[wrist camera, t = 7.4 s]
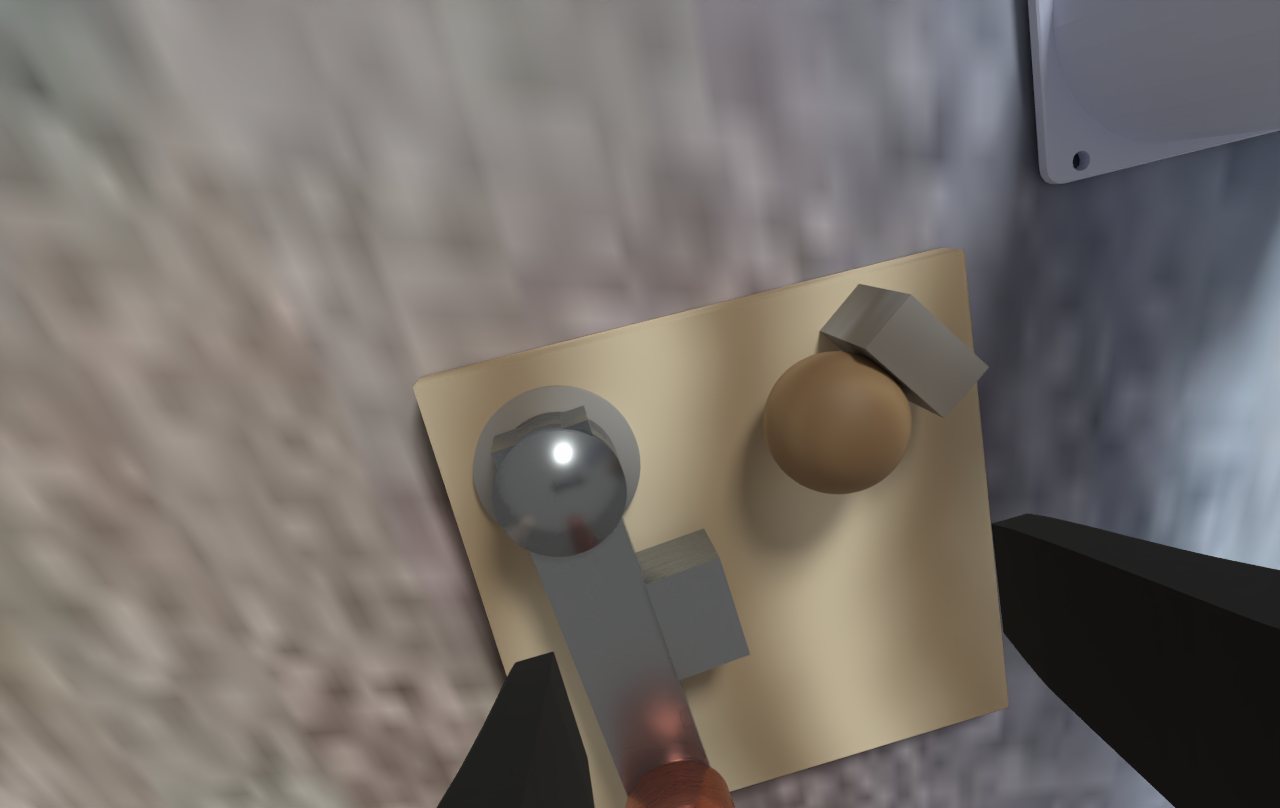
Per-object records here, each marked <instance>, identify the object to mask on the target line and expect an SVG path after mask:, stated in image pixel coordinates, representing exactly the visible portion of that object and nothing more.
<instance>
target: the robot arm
mask: <svg viewBox="0 0 1280 808" xmlns="http://www.w3.org/2000/svg"><path fill="white" fill-rule="evenodd" d="M1028 9H1029V24H1030V39H1031V53H1032V68H1033V83H1034V98H1035V113H1036V127H1037V142H1038V157H1039V170H1040V174H1041V177H1042V178H1043V179H1044V181H1045V182H1047V183H1049V184H1064V183H1068V182H1072V181H1076V180H1081V179H1085V178H1089V177H1093V176H1097V175H1101V174H1105V173H1109V172H1113V171H1117V170H1121V169H1125V168H1129V167H1133V166H1138V165H1142V164H1146V163H1150V162H1154V161H1158V160H1162V159H1166V158H1170V157H1174V156H1178V155H1182V154H1186V153H1190V152H1195V151H1199V150H1203V149H1207V148H1211V147H1215V146H1219V145H1223V144H1227V143H1231V142H1235V141H1239V140H1243V139H1247V138H1252V137H1256V136H1260V135H1264V134H1268V133H1272V132H1276V131H1280V0H1028ZM1076 153H1077V154H1078V155H1079V158H1080V162H1079V166H1078V167H1077V168H1076V169H1075V168H1074V167H1073V163H1072V162H1073V157H1074V156H1075V154H1076ZM992 532H993V541H994V550H995V559H996V568H997V577H998V587H999V596H1000V605H1001V614H1002V623H1003V632H1004V634H1005V635H1006V636H1007V638H1008V639H1009V640H1010V641H1011V643H1012V644H1013V645H1014V646H1015V648H1016V649H1017V650H1018V652H1019V653H1020V654H1021V655H1022V657H1023V658H1024V659H1025V660H1026V662H1027V663H1028V664H1029V665H1030V666H1031V668H1032V669H1033V670H1034V671H1035V672H1036V673H1037V675H1038V676H1039V677H1040V678H1041V679H1042V681H1043V682H1044V683H1045V684H1046V685H1047V686H1048V687H1049V688H1050V689H1051V690H1052V691H1053V692H1054V693H1055V694H1056V695H1057V696H1058V697H1059V698H1060V699H1061V700H1062V701H1063V702H1064V703H1065V704H1066V705H1067V706H1068V707H1069V708H1070V709H1071V710H1072V711H1074V712H1075V713H1076V714H1077V715H1078V716H1079V717H1080V718H1081V719H1082V720H1083V721H1084V722H1085V723H1086V724H1087V725H1088V726H1089V727H1090V728H1091V729H1092V730H1093V731H1094V732H1096V733H1097V734H1098V735H1099V736H1100V737H1101V738H1102V739H1103V740H1104V741H1105V742H1106V743H1107V744H1108V745H1109V746H1110V747H1111V748H1113V749H1114V750H1115V751H1116V752H1117V753H1118V754H1119V755H1120V756H1121V757H1122V758H1123V759H1124V760H1125V761H1126V762H1127V763H1128V764H1130V765H1131V766H1132V767H1133V768H1134V769H1135V770H1136V771H1137V772H1138V773H1139V774H1140V775H1141V776H1142V777H1143V778H1144V779H1145V780H1147V781H1148V782H1149V783H1150V784H1151V785H1152V786H1153V787H1154V788H1155V789H1156V790H1157V791H1158V792H1159V793H1160V794H1161V795H1162V796H1164V797H1165V798H1166V799H1167V800H1168V801H1169V802H1170V803H1171V804H1172V805H1173V806H1174V807H1175V808H1280V570H1276V569H1271V568H1266V567H1261V566H1256V565H1251V564H1246V563H1241V562H1237V561H1232V560H1227V559H1222V558H1217V557H1213V556H1208V555H1204V554H1199V553H1195V552H1191V551H1186V550H1182V549H1178V548H1174V547H1169V546H1165V545H1161V544H1157V543H1153V542H1149V541H1145V540H1141V539H1137V538H1133V537H1129V536H1125V535H1121V534H1117V533H1113V532H1109V531H1105V530H1101V529H1097V528H1093V527H1089V526H1085V525H1081V524H1077V523H1072V522H1068V521H1064V520H1059V519H1055V518H1050V517H1045V516H1039V515H1033V514H1024V515H1021V516H1017V517H1014V518H1010V519H1007V520H1004V521H1000V522H997V523H993V524H992ZM437 808H595V806H594V798H593V791H592V784H591V777H590V770H589V763H588V757H587V754H586V751H585V748H584V745H583V742H582V738H581V735H580V732H579V729H578V726H577V723H576V720H575V716H574V713H573V710H572V707H571V704H570V701H569V698H568V695H567V691H566V688H565V685H564V682H563V679H562V676H561V673H560V669H559V666H558V663H557V660H556V657H555V654H554V651H553V652H549V653H546V654H542V655H539V656H535V657H532V658H528V659H525V660H522V661H518V662H515V663H514V665H513V667H512V668H511V670H510V672H509V674H508V676H507V678H506V680H505V682H504V684H503V686H502V688H501V690H500V693H499V695H498V697H497V699H496V701H495V703H494V705H493V707H492V709H491V711H490V713H489V715H488V717H487V719H486V721H485V723H484V725H483V727H482V729H481V731H480V733H479V735H478V736H477V738H476V740H475V742H474V744H473V746H472V748H471V749H470V751H469V753H468V755H467V757H466V759H465V761H464V762H463V764H462V766H461V768H460V770H459V771H458V773H457V775H456V777H455V778H454V780H453V782H452V783H451V785H450V787H449V788H448V790H447V792H446V793H445V795H444V796H443V798H442V800H441V801H440V803H439V805H438V806H437Z"/></svg>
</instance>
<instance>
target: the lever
mask: <svg viewBox="0 0 1280 808" xmlns="http://www.w3.org/2000/svg"><path fill="white" fill-rule="evenodd" d="M491 455H492V458H493V460H494V463H495V465H496V471H495V477H494V484H493V492H492V500H493V507H494V512H495V515H496V518H497V520H498V522H499V524H500V526H501V527H502V529H503V530H504V532H505V533H506V534H507V535H508V536H509V537H510V538H511V539H512V540H513V541H514V542H515V543H517V544H518V545H520V546H521V547H523V548H524V549H526V550H528V551H530V553H531V556H532V558H533V561H534V563H535V566H536V568H537V571H538V573H539V576H540V578H541V581H542V583H543V586H544V588H545V591H546V593H547V596H548V598H549V601H550V603H551V606H552V608H553V611H554V613H555V616H556V618H557V621H558V623H559V626H560V628H561V631H562V633H563V636H564V638H565V641H566V643H567V646H568V648H569V651H570V653H571V656H572V658H573V661H574V663H575V666H576V668H577V671H578V673H579V676H580V678H581V681H582V683H583V686H584V688H585V691H586V693H587V696H588V699H589V701H590V704H591V706H592V709H593V711H594V714H595V716H596V719H597V721H598V724H599V726H600V729H601V731H602V734H603V736H604V739H605V741H606V744H607V746H608V749H609V751H610V754H611V756H612V759H613V761H614V764H615V766H616V769H617V771H618V774H619V776H620V779H621V781H622V784H623V786H624V789H625V791H626V794H627V796H628V798H627V801H626V805H625V808H735V806H734V803H733V800H732V797H731V794H730V791H729V788H728V786H727V783H726V781H725V780H724V778H723V777H722V776H721V775H720V774H719V773H718V772H717V771H716V770H715V769H713V768H712V767H711V766H710V763H709V760H708V757H707V754H706V752H705V749H704V746H703V743H702V740H701V737H700V734H699V732H698V729H697V726H696V723H695V720H694V717H693V715H692V712H691V709H690V706H689V703H688V700H687V697H686V695H685V692H684V689H683V686H682V683H681V680H682V679H685V678H688V677H690V676H693V675H696V674H699V673H701V672H704V671H707V670H709V669H712V668H715V667H718V666H720V665H723V664H726V663H729V662H731V661H734V660H737V659H739V658H742V657H745V656H748V655H750V652H749V649H748V646H747V642H746V639H745V636H744V633H743V630H742V626H741V623H740V620H739V617H738V614H737V611H736V607H735V604H734V601H733V598H732V595H731V591H730V588H729V585H728V582H727V579H726V576H725V572H724V569H723V566H722V563H721V560H720V557H719V555H718V553H717V551H716V550H715V548H714V546H713V544H712V542H711V540H710V538H709V537H708V535H707V533H706V531H705V529H704V528H703V529H701V530H698V531H695V532H692V533H689V534H687V535H684V536H681V537H678V538H675V539H673V540H670V541H667V542H664V543H661V544H658V545H656V546H653V547H650V548H647V549H644V550H642V551H639V552H635V550H634V547H633V544H632V541H631V538H630V535H629V532H628V530H627V527H626V524H625V521H624V518H623V512H624V509H625V506H626V499H627V486H626V480H625V476H624V472H623V470H622V467H621V464H620V461H619V458H618V455H617V452H616V449H615V447H614V445H613V443H612V441H611V439H610V438H609V436H608V435H607V434H606V432H605V431H604V430H603V429H602V428H601V427H600V426H599V425H597V424H596V423H594V422H593V421H591V420H590V419H588V416H587V413H586V410H585V407H584V405H583V406H580V407H577V408H574V409H571V410H569V411H566V412H548V413H543V414H539V415H536V416H534V417H532V418H529V419H528V420H526V421H524V422H523V423H521V424H520V425H519V426H517V427H516V428H515V429H513V430H510V431H507V432H504V433H501V434H499V435H496V436H494V439H493V444H492V449H491Z"/></svg>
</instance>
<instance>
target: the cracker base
mask: <svg viewBox="0 0 1280 808" xmlns="http://www.w3.org/2000/svg"><path fill="white" fill-rule="evenodd" d="M988 368H989V366H988V365H986V364H985V363H984V362H983V361H982V360H981V359H980V358H979V357H978V356H977V355H976V354H975V353H974V347H973V337H972V327H971V317H970V306H969V296H968V286H967V276H966V266H965V256H964V250H962V249H949V248H937V249H933V250H929V251H925V252H921V253H917V254H913V255H909V256H905V257H901V258H897V259H893V260H889V261H885V262H881V263H877V264H873V265H869V266H865V267H861V268H857V269H853V270H849V271H845V272H841V273H837V274H833V275H829V276H825V277H821V278H817V279H813V280H809V281H805V282H801V283H797V284H793V285H789V286H785V287H781V288H777V289H773V290H769V291H765V292H761V293H757V294H753V295H749V296H745V297H741V298H737V299H733V300H729V301H725V302H721V303H717V304H713V305H709V306H705V307H701V308H697V309H693V310H689V311H685V312H681V313H677V314H673V315H669V316H665V317H661V318H657V319H653V320H649V321H645V322H641V323H637V324H633V325H629V326H625V327H621V328H617V329H613V330H609V331H605V332H601V333H597V334H593V335H589V336H585V337H581V338H577V339H573V340H569V341H565V342H561V343H557V344H553V345H549V346H545V347H541V348H537V349H533V350H529V351H525V352H520V353H516V354H512V355H508V356H504V357H500V358H496V359H492V360H488V361H484V362H480V363H476V364H472V365H468V366H464V367H460V368H456V369H452V370H448V371H444V372H440V373H436V374H432V375H428V376H424V377H420V378H419V380H418V381H417V383H416V384H415V385H414V387H413V389H414V392H415V395H416V399H417V402H418V405H419V408H420V411H421V414H422V417H423V420H424V423H425V426H426V429H427V432H428V435H429V439H430V442H431V445H432V448H433V451H434V454H435V457H436V460H437V463H438V466H439V469H440V472H441V475H442V478H443V482H444V485H445V488H446V491H447V494H448V497H449V500H450V503H451V506H452V509H453V512H454V515H455V518H456V522H457V525H458V528H459V531H460V534H461V537H462V540H463V543H464V546H465V549H466V552H467V555H468V558H469V561H470V565H471V568H472V571H473V574H474V577H475V580H476V583H477V586H478V589H479V592H480V595H481V598H482V601H483V605H484V608H485V611H486V614H487V617H488V620H489V623H490V626H491V629H492V632H493V635H494V638H495V641H496V644H497V648H498V651H499V654H500V657H501V660H502V663H503V666H504V669H505V672H506V675H507V676H508V674H509V672H510V670H511V668H512V667H513V665H514V663H515V662H518V661H522V660H525V659H528V658H532V657H535V656H539V655H542V654H546V653H549V652H553V651H554V654H555V657H556V660H557V663H558V666H559V669H560V673H561V676H562V679H563V682H564V685H565V688H566V691H567V695H568V698H569V701H570V704H571V707H572V710H573V713H574V716H575V720H576V723H577V726H578V729H579V732H580V735H581V738H582V742H583V745H584V748H585V751H586V754H587V757H588V763H589V770H590V777H591V784H592V791H593V798H594V806H595V808H625V805H626V801H627V798H628V796H627V794H626V791H625V789H624V786H623V784H622V781H621V779H620V776H619V774H618V771H617V769H616V766H615V764H614V761H613V759H612V756H611V754H610V751H609V749H608V746H607V744H606V741H605V739H604V736H603V734H602V731H601V729H600V726H599V724H598V721H597V719H596V716H595V714H594V711H593V709H592V706H591V704H590V701H589V699H588V696H587V693H586V691H585V688H584V686H583V683H582V681H581V678H580V676H579V673H578V671H577V668H576V666H575V663H574V661H573V658H572V656H571V653H570V651H569V648H568V646H567V643H566V641H565V638H564V636H563V633H562V631H561V628H560V626H559V623H558V621H557V618H556V616H555V613H554V611H553V608H552V606H551V603H550V601H549V598H548V596H547V593H546V591H545V588H544V586H543V583H542V581H541V578H540V576H539V573H538V571H537V568H536V566H535V563H534V561H533V558H532V556H531V553H530V551H528V550H526V549H524V548H523V547H521V546H520V545H518V544H517V543H515V542H514V541H513V540H512V539H511V538H510V537H509V536H508V535H507V534H506V533H505V532H504V530H503V529H502V527H501V526H500V524H499V522H498V520H497V518H496V515H495V512H494V507H493V500H492V492H493V484H494V477H495V471H496V465H495V463H494V460H493V458H492V455H491V449H492V444H493V439H494V436H496V435H499V434H501V433H504V432H507V431H510V430H513V429H515V428H516V427H517V426H519V425H520V424H521V423H523V422H524V421H526V420H528V419H529V418H532V417H534V416H536V415H539V414H543V413H548V412H566V411H569V410H571V409H574V408H577V407H580V406H583V405H584V407H585V410H586V413H587V416H588V419H590V420H591V421H593V422H594V423H596V424H597V425H599V426H600V427H601V428H602V429H603V430H604V431H605V432H606V434H607V435H608V436H609V438H610V439H611V441H612V443H613V445H614V447H615V449H616V452H617V455H618V458H619V461H620V464H621V467H622V470H623V472H624V476H625V480H626V486H627V499H626V506H625V509H624V512H623V518H624V521H625V524H626V527H627V530H628V532H629V535H630V538H631V541H632V544H633V547H634V550H635V552H639V551H642V550H644V549H647V548H650V547H653V546H656V545H658V544H661V543H664V542H667V541H670V540H673V539H675V538H678V537H681V536H684V535H687V534H689V533H692V532H695V531H698V530H701V529H703V528H704V529H705V531H706V533H707V535H708V537H709V538H710V540H711V542H712V544H713V546H714V548H715V550H716V551H717V553H718V555H719V557H720V560H721V563H722V566H723V569H724V572H725V576H726V579H727V582H728V585H729V588H730V591H731V595H732V598H733V601H734V604H735V607H736V611H737V614H738V617H739V620H740V623H741V626H742V630H743V633H744V636H745V639H746V642H747V646H748V649H749V652H750V655H748V656H745V657H742V658H739V659H737V660H734V661H731V662H729V663H726V664H723V665H720V666H718V667H715V668H712V669H709V670H707V671H704V672H701V673H699V674H696V675H693V676H690V677H688V678H685V679H682V680H681V683H682V686H683V689H684V692H685V695H686V697H687V700H688V703H689V706H690V709H691V712H692V715H693V717H694V720H695V723H696V726H697V729H698V732H699V734H700V737H701V740H702V743H703V746H704V749H705V752H706V754H707V757H708V760H709V763H710V766H711V767H712V768H713V769H715V770H716V771H717V772H718V773H719V774H720V775H721V776H722V777H723V778H724V780H725V781H726V783H727V786H728V788H729V791H730V792H731V791H734V790H737V789H741V788H744V787H747V786H751V785H754V784H757V783H760V782H764V781H767V780H770V779H774V778H777V777H780V776H784V775H787V774H790V773H793V772H797V771H800V770H803V769H807V768H810V767H813V766H817V765H820V764H823V763H827V762H830V761H833V760H836V759H840V758H843V757H846V756H850V755H853V754H856V753H860V752H863V751H866V750H869V749H873V748H876V747H879V746H883V745H886V744H889V743H893V742H896V741H899V740H902V739H906V738H909V737H912V736H916V735H919V734H922V733H926V732H929V731H932V730H935V729H939V728H942V727H945V726H949V725H952V724H955V723H959V722H962V721H965V720H969V719H972V718H975V717H978V716H982V715H985V714H988V713H992V712H995V711H998V710H1002V709H1005V708H1008V707H1009V703H1008V693H1007V682H1006V672H1005V662H1004V652H1003V642H1002V632H1001V621H1000V611H999V601H998V591H997V581H996V571H995V560H994V550H993V540H992V530H991V520H990V510H989V500H988V489H987V479H986V469H985V459H984V449H983V439H982V428H981V418H980V408H979V398H978V388H977V381H978V380H979V379H980V377H981V376H982V375H983V374H984V373H985V372H986V371H987V369H988Z"/></svg>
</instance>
